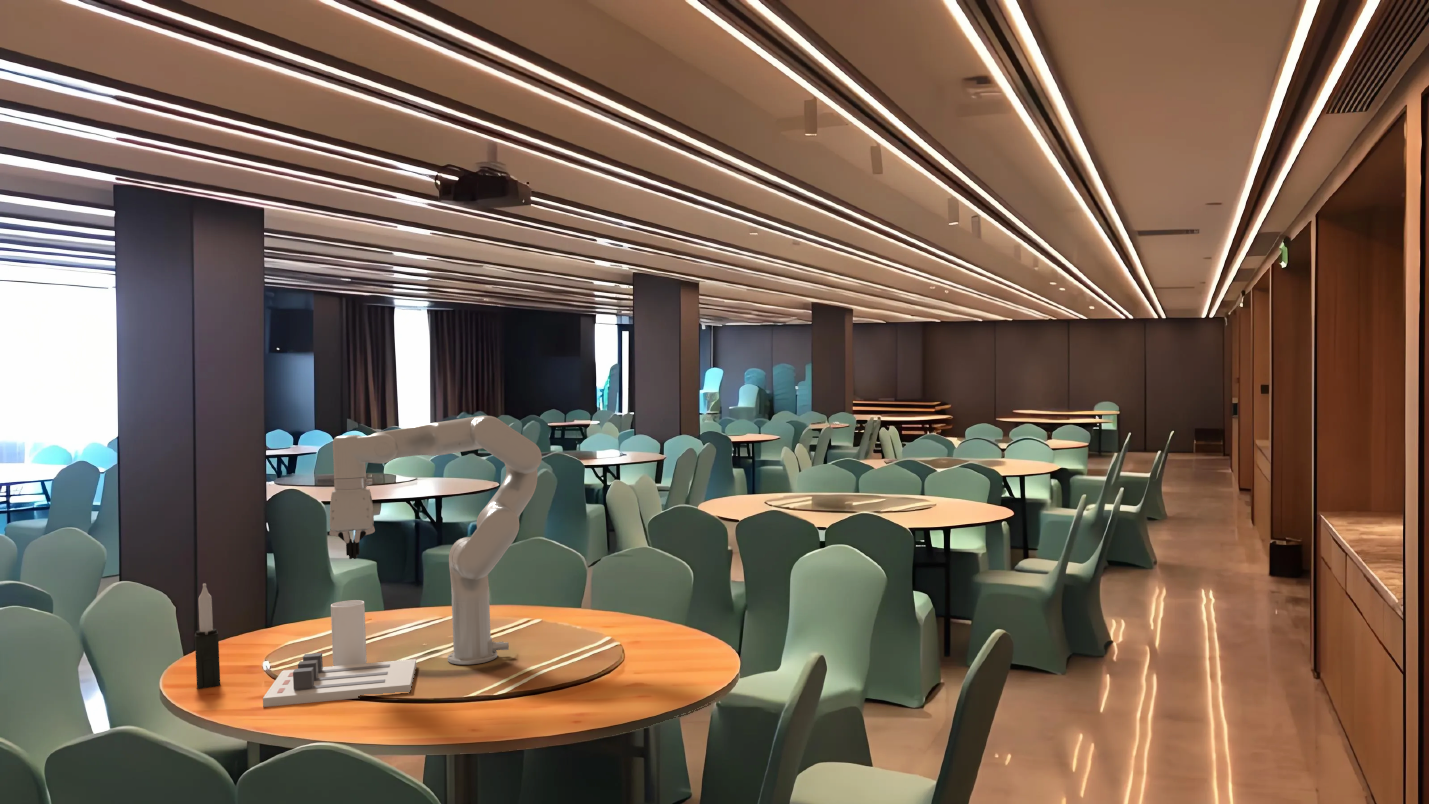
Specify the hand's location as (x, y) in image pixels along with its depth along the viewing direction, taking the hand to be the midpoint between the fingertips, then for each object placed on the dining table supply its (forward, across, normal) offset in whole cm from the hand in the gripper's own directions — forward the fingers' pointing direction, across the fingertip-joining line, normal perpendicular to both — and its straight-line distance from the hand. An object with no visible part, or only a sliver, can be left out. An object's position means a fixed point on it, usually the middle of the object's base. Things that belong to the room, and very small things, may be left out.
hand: (353, 557), depth 261 cm
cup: (+29, +3, -10) cm, 31 cm away
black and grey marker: (+29, +35, -2) cm, 46 cm away
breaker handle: (+27, +10, +10) cm, 30 cm away
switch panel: (+29, +2, +10) cm, 31 cm away
